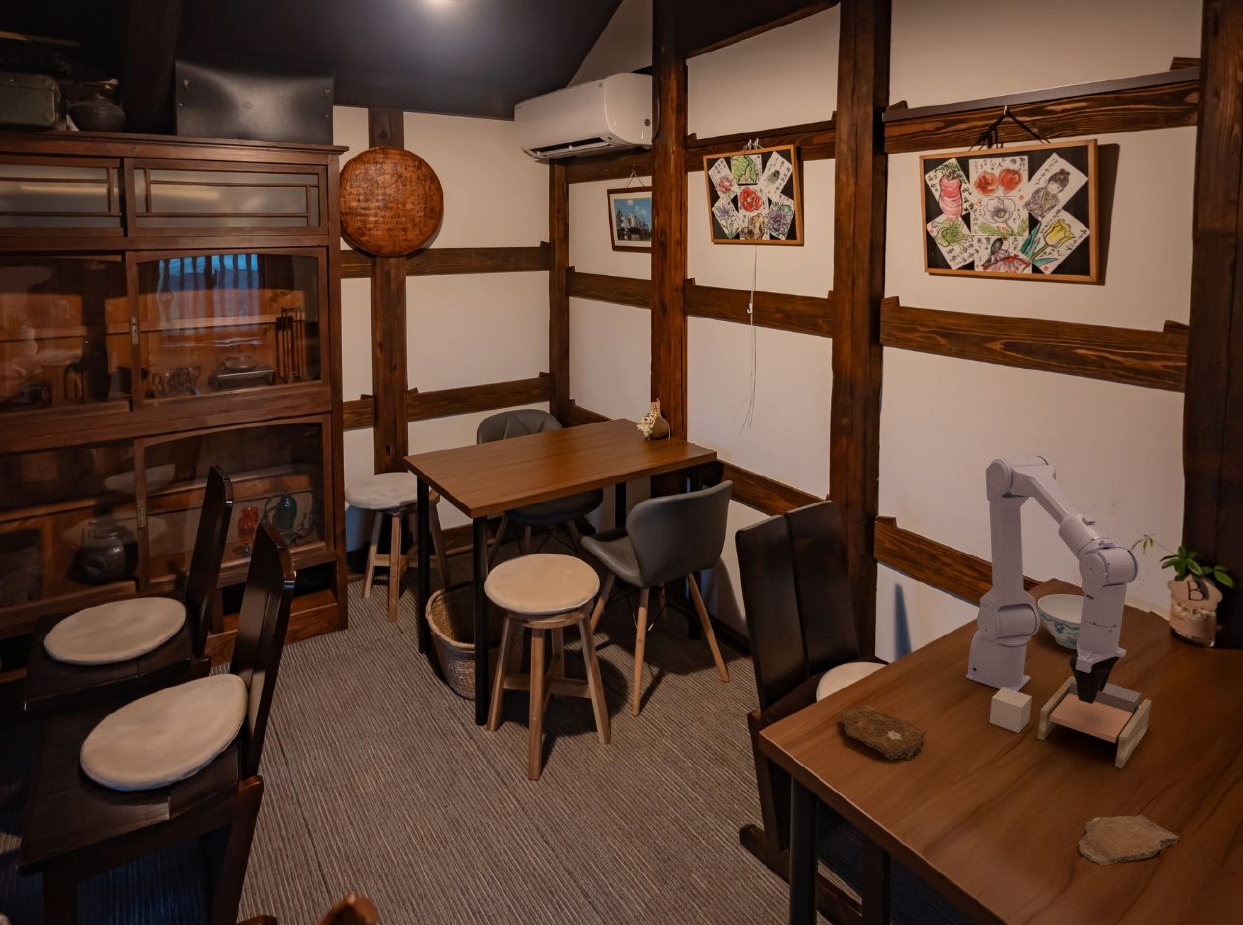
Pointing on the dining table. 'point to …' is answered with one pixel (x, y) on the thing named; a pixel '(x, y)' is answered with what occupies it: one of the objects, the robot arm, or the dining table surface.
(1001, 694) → the beige cube
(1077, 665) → the robot arm
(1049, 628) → the chinaware
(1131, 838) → the pottery shard
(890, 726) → the decorative rock
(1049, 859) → the dining table surface
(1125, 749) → the frame
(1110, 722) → the trapdoor
